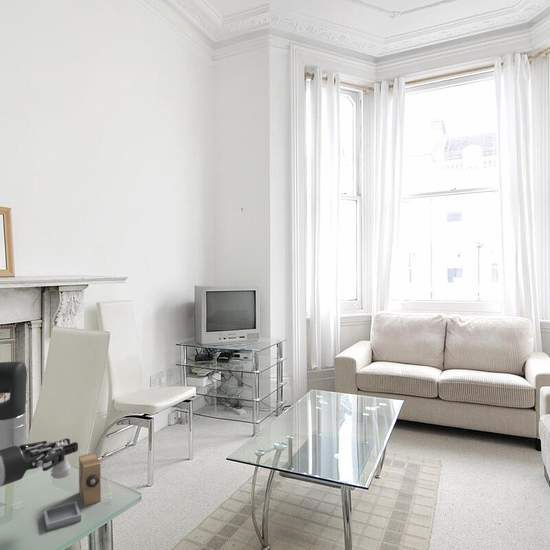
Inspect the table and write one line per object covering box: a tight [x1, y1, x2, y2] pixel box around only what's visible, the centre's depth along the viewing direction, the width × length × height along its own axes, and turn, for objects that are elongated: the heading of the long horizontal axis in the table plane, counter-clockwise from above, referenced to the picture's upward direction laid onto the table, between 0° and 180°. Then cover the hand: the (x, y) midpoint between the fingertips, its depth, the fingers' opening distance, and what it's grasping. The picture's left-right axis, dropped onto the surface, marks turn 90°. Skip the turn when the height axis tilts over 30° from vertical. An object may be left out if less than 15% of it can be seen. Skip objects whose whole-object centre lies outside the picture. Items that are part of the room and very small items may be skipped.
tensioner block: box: [78, 452, 102, 507], centre depth 114 cm, size 9×4×10 cm, turn 33°
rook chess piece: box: [50, 439, 72, 480], centre depth 104 cm, size 4×4×8 cm
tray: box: [43, 500, 82, 532], centre depth 105 cm, size 7×7×2 cm
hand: (72, 444), depth 107 cm, fingers closed on rook chess piece, 3 cm apart
